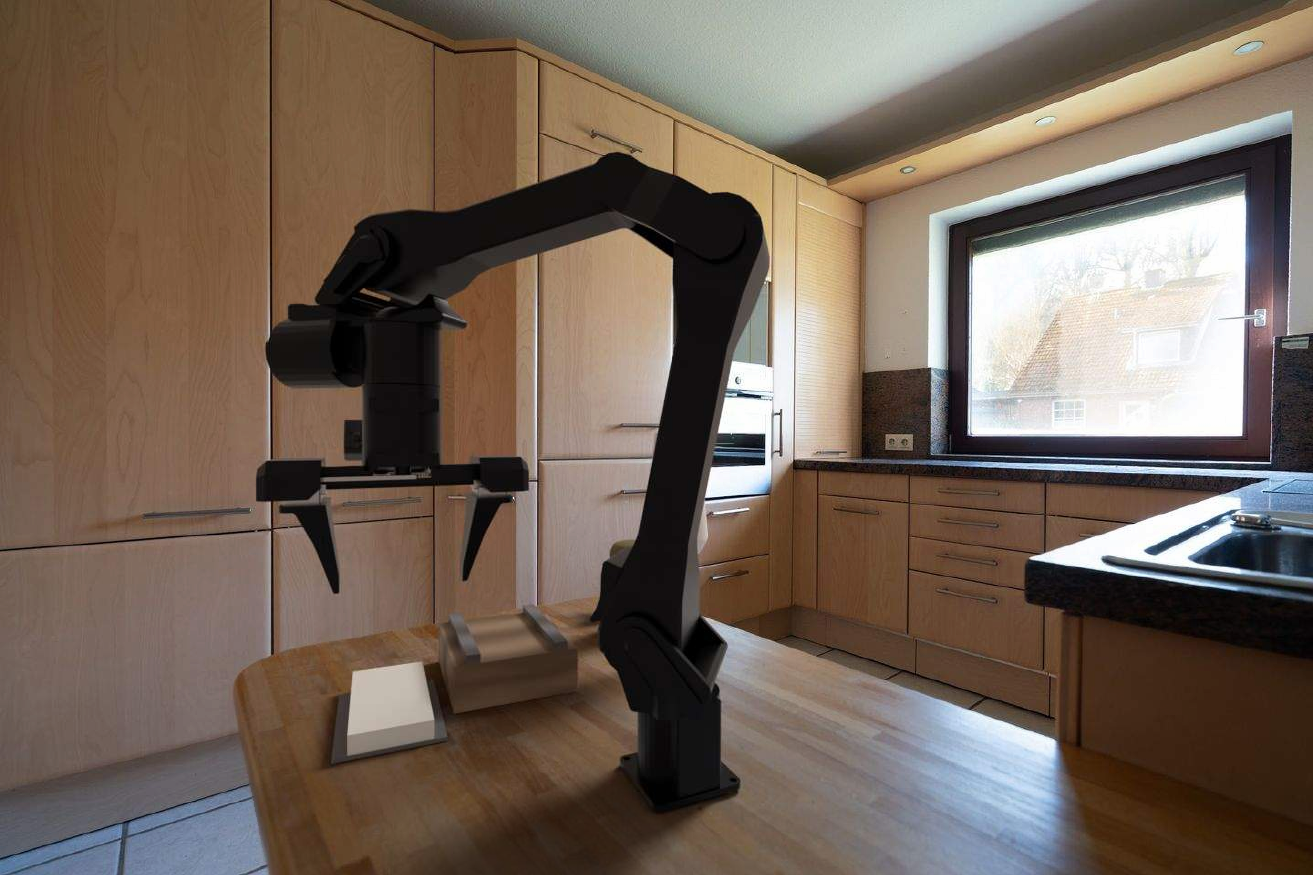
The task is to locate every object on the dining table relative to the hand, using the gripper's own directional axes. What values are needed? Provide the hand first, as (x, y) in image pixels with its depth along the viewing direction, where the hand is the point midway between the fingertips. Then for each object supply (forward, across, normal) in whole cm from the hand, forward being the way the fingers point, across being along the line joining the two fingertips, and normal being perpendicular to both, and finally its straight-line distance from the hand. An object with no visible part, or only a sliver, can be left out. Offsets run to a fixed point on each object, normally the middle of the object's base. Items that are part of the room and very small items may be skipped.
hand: (402, 586), depth 48 cm
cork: (+12, -26, -16) cm, 33 cm away
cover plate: (+12, +1, -5) cm, 13 cm away
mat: (+12, +1, -4) cm, 13 cm away
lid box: (+12, -10, -9) cm, 18 cm away
